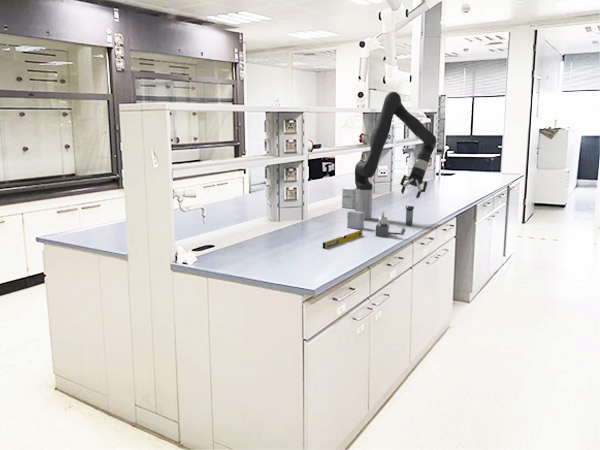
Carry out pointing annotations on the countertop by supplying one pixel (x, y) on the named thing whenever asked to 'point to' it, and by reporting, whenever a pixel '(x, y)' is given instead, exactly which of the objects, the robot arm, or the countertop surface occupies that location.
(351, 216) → the medicine box
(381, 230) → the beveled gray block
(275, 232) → the countertop surface
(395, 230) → the mat
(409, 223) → the salt shaker
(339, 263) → the countertop surface
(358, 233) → the spirit level
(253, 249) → the countertop surface
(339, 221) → the countertop surface
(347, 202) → the supplement box
